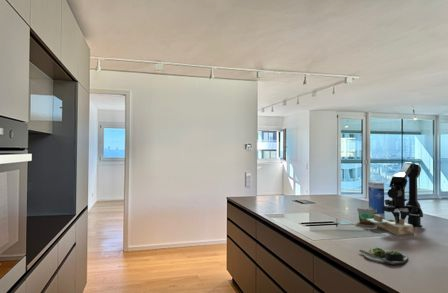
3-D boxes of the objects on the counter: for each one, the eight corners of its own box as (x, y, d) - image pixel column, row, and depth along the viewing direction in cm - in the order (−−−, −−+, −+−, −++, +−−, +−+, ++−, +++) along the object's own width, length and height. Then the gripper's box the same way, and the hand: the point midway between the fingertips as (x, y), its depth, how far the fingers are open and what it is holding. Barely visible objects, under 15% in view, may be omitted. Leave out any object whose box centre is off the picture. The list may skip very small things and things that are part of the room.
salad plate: (352, 258, 139) (352, 248, 139) (366, 249, 152) (366, 240, 152) (400, 269, 125) (399, 258, 125) (411, 258, 138) (410, 248, 138)
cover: (381, 219, 196) (381, 213, 196) (390, 222, 187) (390, 216, 187) (366, 220, 195) (366, 214, 195) (375, 223, 186) (374, 217, 186)
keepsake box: (391, 226, 197) (391, 219, 197) (413, 234, 177) (413, 226, 177) (376, 226, 196) (376, 219, 196) (397, 235, 176) (397, 227, 176)
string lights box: (385, 218, 219) (384, 182, 220) (373, 218, 221) (373, 182, 221) (378, 214, 233) (378, 181, 233) (368, 214, 234) (367, 181, 234)
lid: (402, 223, 187) (402, 216, 187) (412, 227, 178) (412, 220, 178) (387, 224, 186) (387, 217, 186) (397, 227, 177) (397, 220, 177)
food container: (356, 223, 204) (356, 208, 204) (357, 222, 209) (357, 207, 209) (377, 225, 198) (376, 210, 198) (377, 223, 204) (377, 208, 204)
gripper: (404, 194, 191) (404, 219, 191) (376, 195, 189) (376, 220, 189) (417, 197, 180) (417, 223, 180) (387, 197, 178) (388, 224, 178)
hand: (399, 223), depth 182 cm, fingers closed on lid, 2 cm apart
